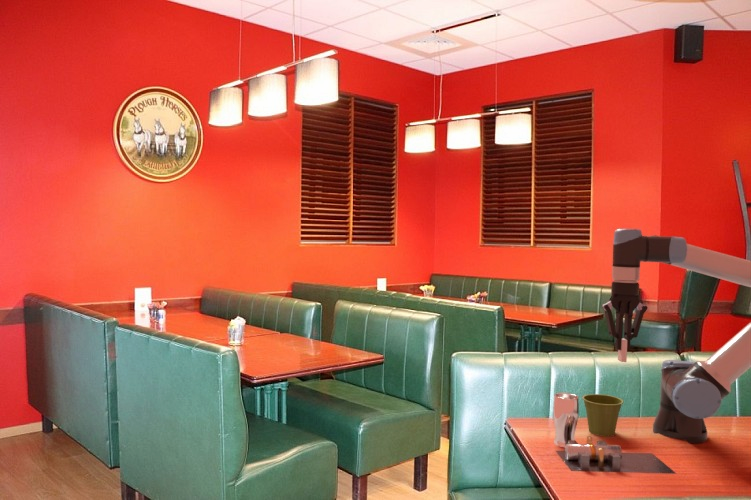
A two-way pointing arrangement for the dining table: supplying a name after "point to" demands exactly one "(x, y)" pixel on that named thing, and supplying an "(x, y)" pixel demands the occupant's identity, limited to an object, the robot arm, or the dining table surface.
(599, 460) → the steam engine
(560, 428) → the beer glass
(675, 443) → the dining table surface
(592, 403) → the plant pot
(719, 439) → the dining table surface
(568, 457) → the tube
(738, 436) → the dining table surface
